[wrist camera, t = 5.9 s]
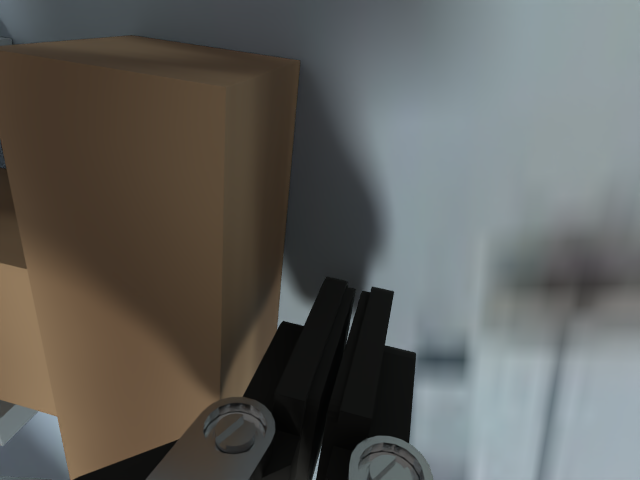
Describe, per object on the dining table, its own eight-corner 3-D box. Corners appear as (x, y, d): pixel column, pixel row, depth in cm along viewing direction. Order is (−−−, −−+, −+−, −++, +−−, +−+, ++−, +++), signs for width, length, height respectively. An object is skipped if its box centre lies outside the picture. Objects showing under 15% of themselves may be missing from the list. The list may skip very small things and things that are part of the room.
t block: (300, 60, 10) (225, 87, 7) (267, 441, 16) (216, 566, 12) (-122, -3, 12) (-361, -9, 8) (-17, 361, 17) (-134, 451, 14)
